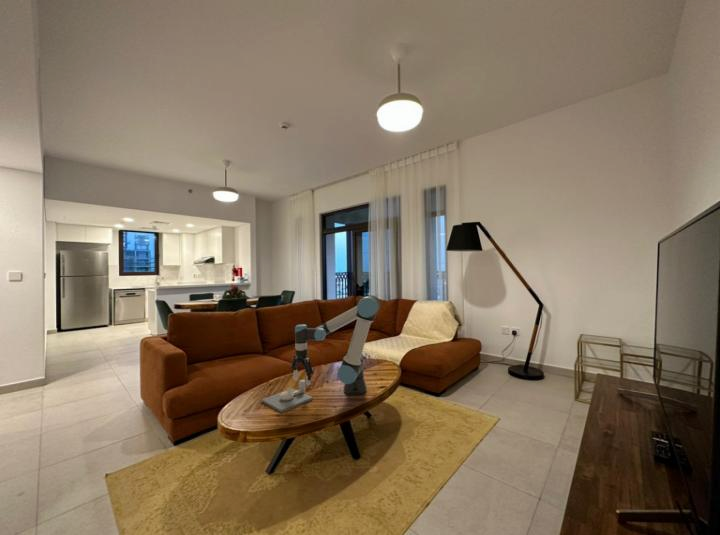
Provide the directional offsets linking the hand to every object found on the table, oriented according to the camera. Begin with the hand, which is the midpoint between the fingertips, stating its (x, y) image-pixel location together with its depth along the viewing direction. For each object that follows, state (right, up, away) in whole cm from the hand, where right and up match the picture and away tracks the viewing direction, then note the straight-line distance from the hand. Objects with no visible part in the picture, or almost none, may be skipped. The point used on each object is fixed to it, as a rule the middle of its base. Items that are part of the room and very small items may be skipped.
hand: (302, 382), depth 182 cm
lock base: (-7, -8, -8) cm, 13 cm away
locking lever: (-4, -6, -5) cm, 9 cm away
